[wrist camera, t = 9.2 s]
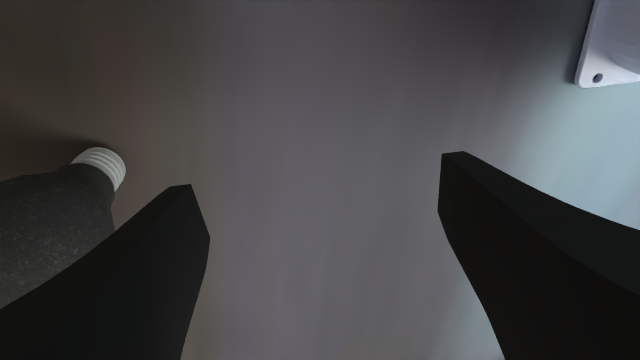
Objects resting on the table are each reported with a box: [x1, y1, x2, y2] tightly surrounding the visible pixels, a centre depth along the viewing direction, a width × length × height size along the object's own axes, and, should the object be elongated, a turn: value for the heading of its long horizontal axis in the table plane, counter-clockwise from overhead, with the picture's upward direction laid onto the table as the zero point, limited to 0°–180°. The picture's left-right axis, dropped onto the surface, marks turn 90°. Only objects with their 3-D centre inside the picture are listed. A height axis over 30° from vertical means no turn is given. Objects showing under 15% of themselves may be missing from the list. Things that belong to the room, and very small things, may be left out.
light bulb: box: [0, 147, 126, 309], centre depth 17 cm, size 6×6×10 cm
